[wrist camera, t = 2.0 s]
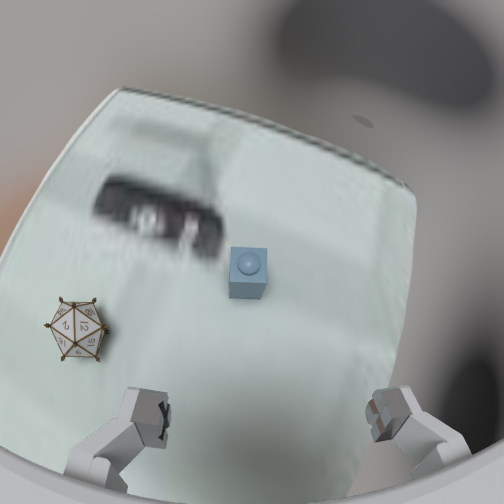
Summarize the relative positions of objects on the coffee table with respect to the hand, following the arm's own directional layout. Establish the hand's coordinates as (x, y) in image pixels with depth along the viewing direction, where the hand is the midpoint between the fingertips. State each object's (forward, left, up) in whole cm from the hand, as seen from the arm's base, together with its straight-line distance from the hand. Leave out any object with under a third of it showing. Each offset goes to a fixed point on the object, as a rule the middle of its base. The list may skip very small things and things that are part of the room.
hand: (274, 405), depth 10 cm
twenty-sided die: (+16, +15, -27) cm, 35 cm away
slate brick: (+10, -7, -27) cm, 30 cm away
